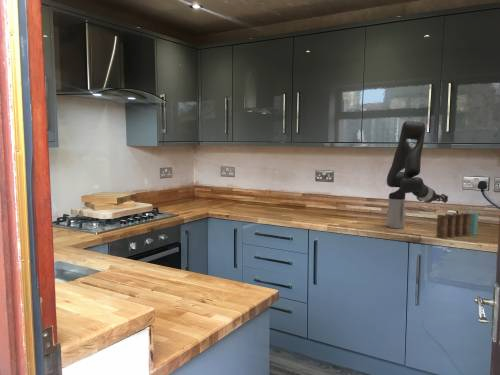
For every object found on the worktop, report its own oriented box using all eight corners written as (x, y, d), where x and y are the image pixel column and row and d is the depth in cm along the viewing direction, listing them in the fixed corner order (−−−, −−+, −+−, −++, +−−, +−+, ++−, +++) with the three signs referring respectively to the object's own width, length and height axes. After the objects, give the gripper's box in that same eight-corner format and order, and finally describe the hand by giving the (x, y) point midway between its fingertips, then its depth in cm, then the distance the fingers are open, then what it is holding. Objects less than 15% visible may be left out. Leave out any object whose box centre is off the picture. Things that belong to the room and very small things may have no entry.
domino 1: (436, 236, 225) (437, 214, 224) (439, 236, 226) (440, 214, 225) (443, 238, 221) (445, 216, 220) (446, 238, 222) (448, 215, 220)
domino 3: (451, 234, 230) (452, 213, 228) (454, 234, 230) (455, 213, 229) (459, 236, 225) (460, 215, 224) (462, 236, 226) (463, 214, 224)
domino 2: (444, 235, 227) (445, 214, 226) (447, 235, 228) (448, 213, 227) (451, 237, 223) (452, 215, 222) (454, 237, 224) (455, 215, 222)
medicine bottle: (446, 228, 246) (447, 208, 244) (459, 230, 241) (460, 210, 240) (443, 230, 240) (444, 210, 239) (456, 232, 236) (457, 211, 234)
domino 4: (458, 234, 232) (460, 212, 230) (461, 233, 232) (463, 212, 231) (466, 236, 227) (468, 214, 226) (469, 235, 228) (471, 214, 226)
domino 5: (466, 233, 234) (467, 212, 232) (469, 233, 234) (470, 212, 233) (473, 235, 229) (475, 213, 228) (476, 235, 230) (478, 213, 228)
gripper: (440, 186, 206) (451, 194, 217) (412, 186, 216) (424, 194, 227) (439, 200, 205) (450, 208, 216) (410, 200, 215) (423, 207, 226)
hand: (437, 201), depth 222 cm, fingers open, 8 cm apart
